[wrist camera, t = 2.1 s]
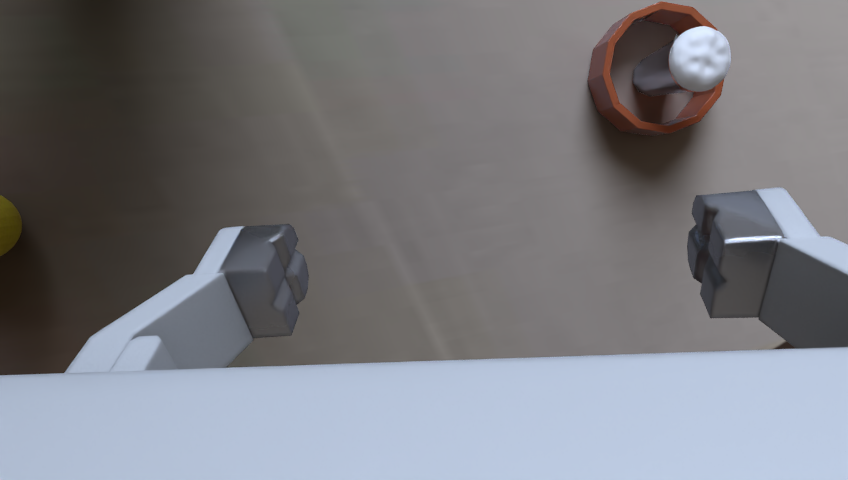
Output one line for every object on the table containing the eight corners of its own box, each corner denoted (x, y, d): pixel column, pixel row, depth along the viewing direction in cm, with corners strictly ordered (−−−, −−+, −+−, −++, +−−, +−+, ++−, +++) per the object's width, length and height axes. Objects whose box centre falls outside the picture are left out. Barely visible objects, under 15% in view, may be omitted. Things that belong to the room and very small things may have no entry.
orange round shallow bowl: (572, 40, 51) (587, 30, 47) (681, -3, 51) (703, -16, 47) (611, 151, 52) (628, 150, 48) (717, 109, 52) (741, 105, 49)
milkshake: (628, 38, 51) (688, 5, 41) (684, 61, 51) (757, 34, 41) (608, 89, 51) (663, 68, 41) (664, 111, 52) (731, 97, 42)
